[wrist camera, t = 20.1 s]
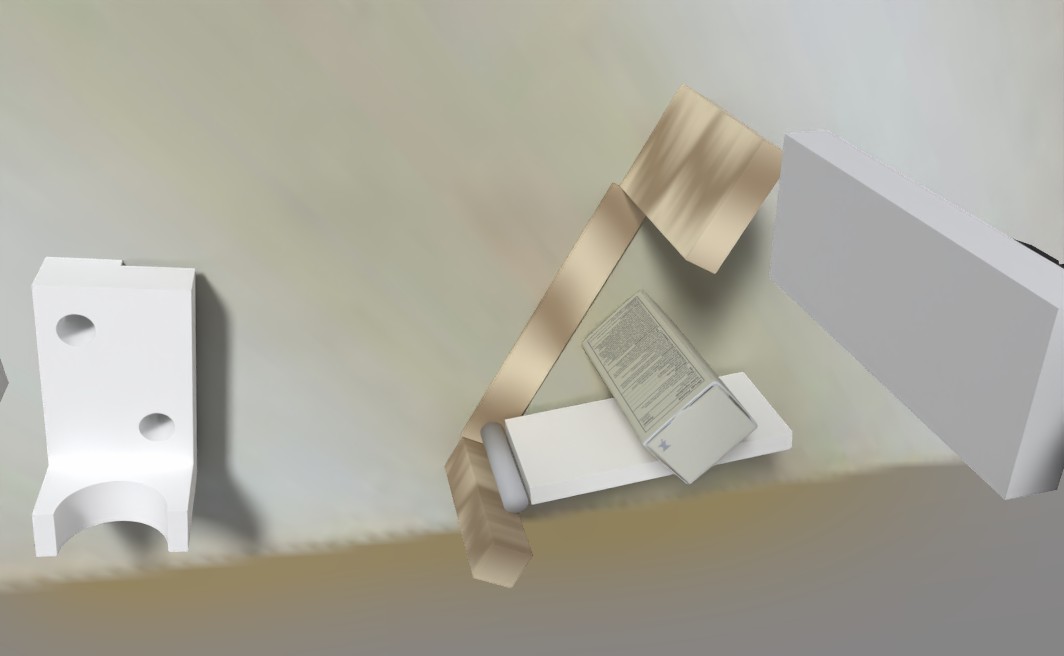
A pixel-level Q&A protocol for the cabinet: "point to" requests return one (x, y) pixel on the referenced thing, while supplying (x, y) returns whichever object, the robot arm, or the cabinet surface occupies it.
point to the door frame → (681, 216)
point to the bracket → (116, 398)
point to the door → (601, 448)
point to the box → (667, 389)
